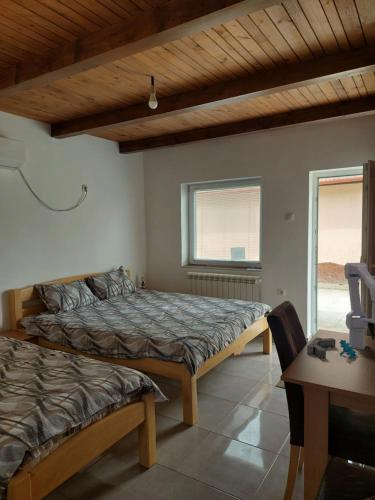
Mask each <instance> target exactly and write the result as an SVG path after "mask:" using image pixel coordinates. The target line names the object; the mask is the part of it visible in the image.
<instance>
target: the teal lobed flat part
mask: <svg viewBox="0 0 375 500" xmlns="http://www.w3.org/2000/svg"><path fill="white" fill-rule="evenodd" d="M339 344H340V347H341V348H343V349H342V351H341V352H339V355H340V356H342V355H344V354H346V356H349V357H350V359H356V358H357V356H358V355H357V354H356V353H357V352H356V350H354V348H353V346H349V345H350V344H349V342H347V340H345V339H344V340H343V339H340V341H339Z"/></svg>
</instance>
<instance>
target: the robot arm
mask: <svg viewBox="0 0 375 500" xmlns="http://www.w3.org/2000/svg"><path fill="white" fill-rule="evenodd" d="M368 268H369V267H368V265H367V263H366V262H346V263H345V265H344V267H343V270H344V277H345V279H346V280H347V283H348V285H347V286H348V294H349V302H350V311H349V312H348V313H347V314H346V315H345V325H346V328H347V329H348V330H349V331H348V333H349V334H348V335H349V336H348V343H349V344H350V345H349V346H353V349H357V350H363V351H364V350H365V348H366V347H367V346H368V345H367V343H365V340H366V339H365V337H366V333H365V332H366V331H367V329H369V332H370V335H371V340H373V341H374V340H375V275H371V273H370V272H369V270H368ZM361 279H363V280H364V284H365V286H366V287H367V288H368V290H369V294H370V300H371V304H372V305H371V317H370V318H368V314H366V313H365V312H364V311H362V303H361V293H360V285H359V281H360V280H361Z"/></svg>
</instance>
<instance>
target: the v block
mask: <svg viewBox="0 0 375 500" xmlns="http://www.w3.org/2000/svg"><path fill="white" fill-rule="evenodd" d="M336 342H337V341H336V339H335V338H333V337H328V338H327V337H326V338H322V337H318V336H316V337H315V338H314V339H312V341H311V342H310V343H308V344H307V345H306V354H308V355H312V356H313V355H314V356H315V357H317V358H318V359H320V360H323V359H326V358H327V350H326V349H330V348H336V345H337V343H336Z"/></svg>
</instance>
